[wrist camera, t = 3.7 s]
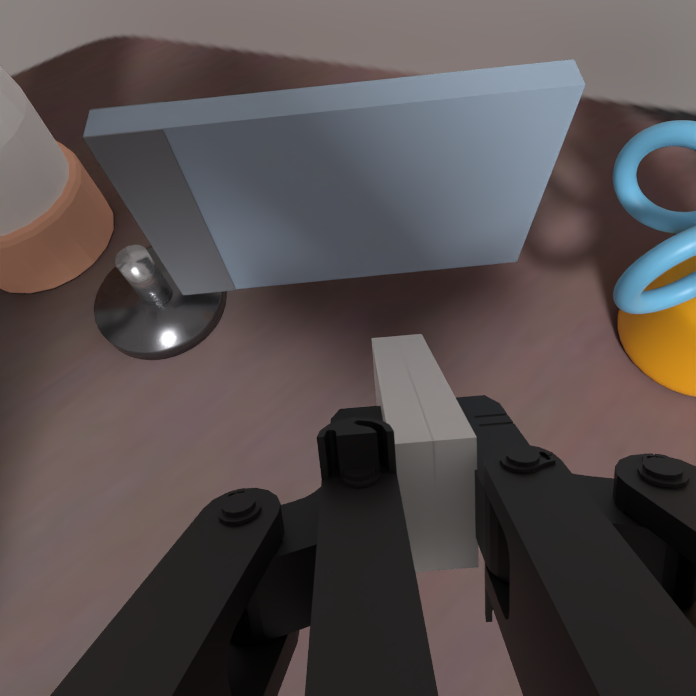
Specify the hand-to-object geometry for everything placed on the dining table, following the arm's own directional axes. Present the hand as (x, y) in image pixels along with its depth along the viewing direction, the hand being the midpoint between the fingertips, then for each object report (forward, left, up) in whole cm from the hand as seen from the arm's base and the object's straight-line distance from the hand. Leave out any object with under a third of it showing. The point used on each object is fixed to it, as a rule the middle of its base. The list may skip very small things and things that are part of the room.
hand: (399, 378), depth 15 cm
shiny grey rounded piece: (-12, -3, -6) cm, 14 cm away
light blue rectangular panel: (-7, +4, -4) cm, 9 cm away
